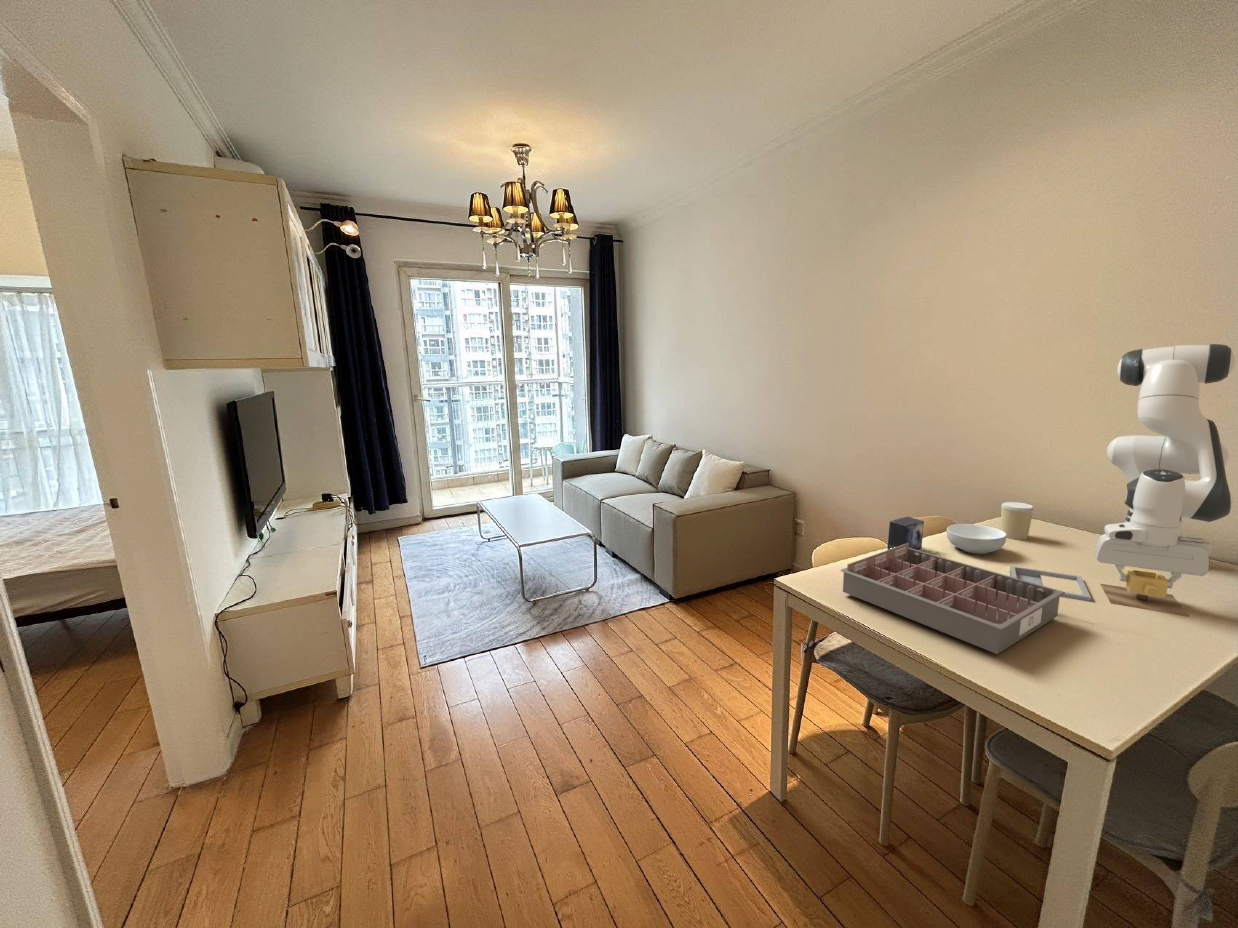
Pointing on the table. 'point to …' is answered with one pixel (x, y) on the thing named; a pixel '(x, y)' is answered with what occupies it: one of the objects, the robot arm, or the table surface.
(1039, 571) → the tray
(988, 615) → the organizer tray
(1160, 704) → the table surface
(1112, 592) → the board with post
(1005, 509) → the coffee cup
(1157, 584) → the collar
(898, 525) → the small box
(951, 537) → the cereal bowl
